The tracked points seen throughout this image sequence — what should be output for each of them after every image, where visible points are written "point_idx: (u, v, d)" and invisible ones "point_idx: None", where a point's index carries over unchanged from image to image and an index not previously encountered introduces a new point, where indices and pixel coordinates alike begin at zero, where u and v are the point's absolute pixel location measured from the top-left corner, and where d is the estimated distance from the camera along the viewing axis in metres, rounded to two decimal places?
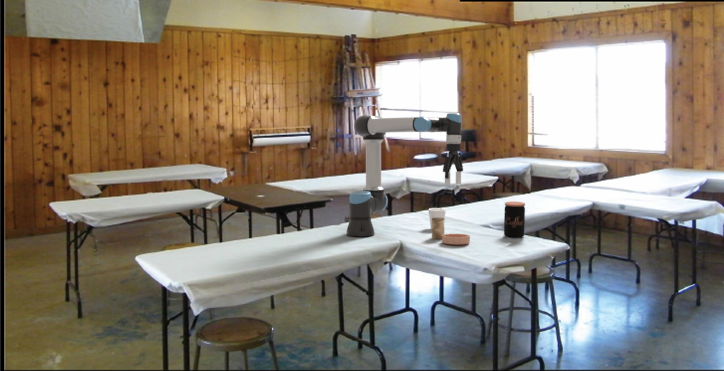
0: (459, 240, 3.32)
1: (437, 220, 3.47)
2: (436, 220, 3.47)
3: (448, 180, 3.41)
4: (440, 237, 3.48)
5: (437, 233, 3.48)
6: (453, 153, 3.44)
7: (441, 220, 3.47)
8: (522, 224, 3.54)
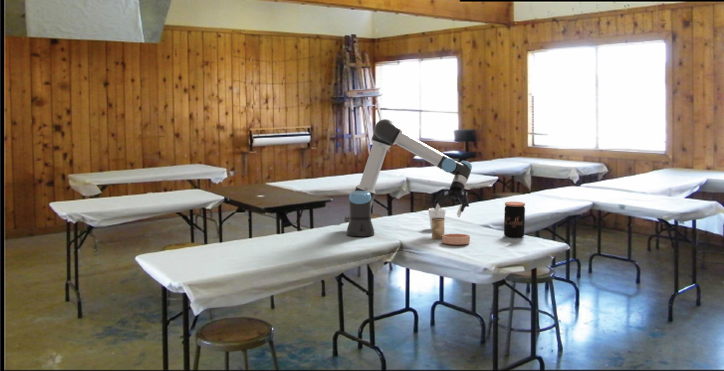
0: (459, 240, 3.32)
1: (437, 220, 3.47)
2: (436, 220, 3.47)
3: (460, 213, 3.54)
4: (440, 237, 3.48)
5: (437, 233, 3.48)
6: None
7: (441, 220, 3.47)
8: (522, 224, 3.54)
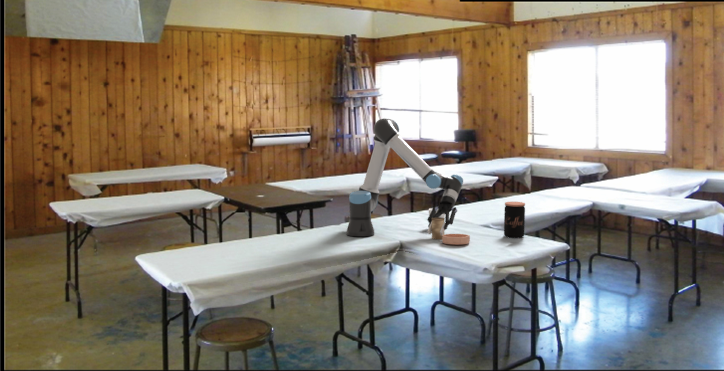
0: (459, 240, 3.32)
1: (437, 220, 3.47)
2: (436, 220, 3.47)
3: (443, 231, 3.47)
4: (440, 237, 3.48)
5: (437, 233, 3.48)
6: None
7: (441, 220, 3.47)
8: (522, 224, 3.54)
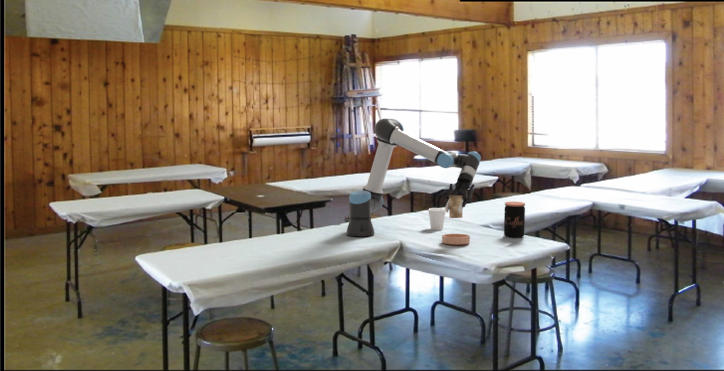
0: (459, 240, 3.32)
1: (455, 197, 3.34)
2: (454, 197, 3.35)
3: (461, 208, 3.35)
4: (458, 215, 3.35)
5: (455, 211, 3.35)
6: None
7: (459, 197, 3.35)
8: (522, 224, 3.54)
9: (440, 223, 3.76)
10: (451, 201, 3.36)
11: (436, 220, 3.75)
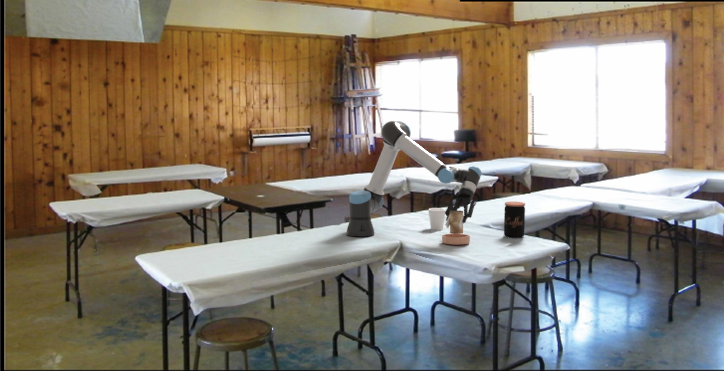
0: (459, 240, 3.32)
1: (455, 213, 3.35)
2: (454, 213, 3.35)
3: (462, 224, 3.35)
4: (459, 231, 3.35)
5: (455, 227, 3.35)
6: None
7: (460, 213, 3.35)
8: (522, 224, 3.54)
9: (440, 223, 3.76)
10: (452, 217, 3.36)
11: (436, 220, 3.75)
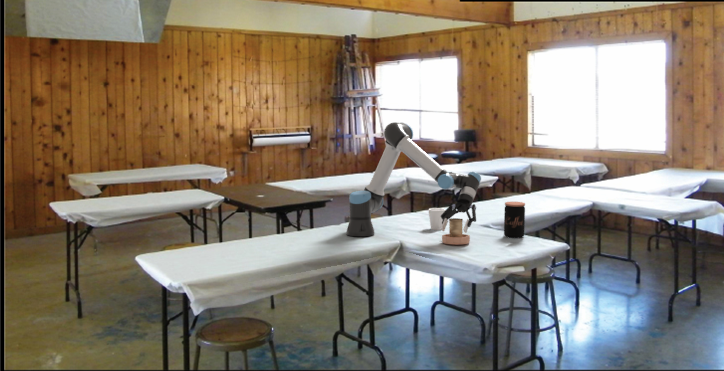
0: (459, 240, 3.32)
1: (455, 221, 3.35)
2: (454, 221, 3.35)
3: (467, 228, 3.34)
4: None
5: (455, 235, 3.35)
6: None
7: (459, 221, 3.35)
8: (522, 224, 3.54)
9: (440, 223, 3.76)
10: (451, 225, 3.36)
11: (436, 220, 3.75)
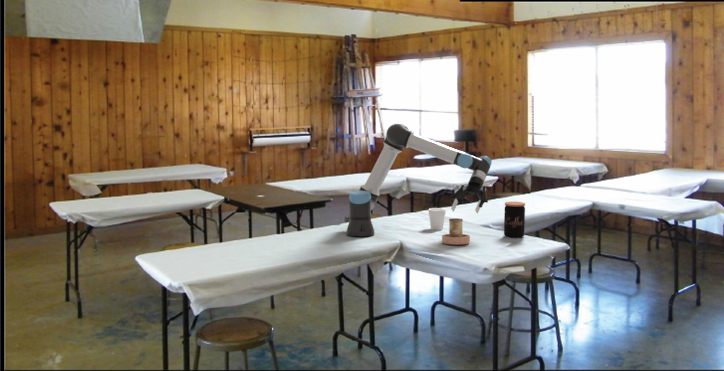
0: (459, 240, 3.32)
1: (455, 221, 3.35)
2: (454, 221, 3.35)
3: (479, 208, 3.46)
4: None
5: (455, 235, 3.35)
6: None
7: (459, 221, 3.35)
8: (522, 224, 3.54)
9: (440, 223, 3.76)
10: (451, 225, 3.36)
11: (436, 220, 3.75)
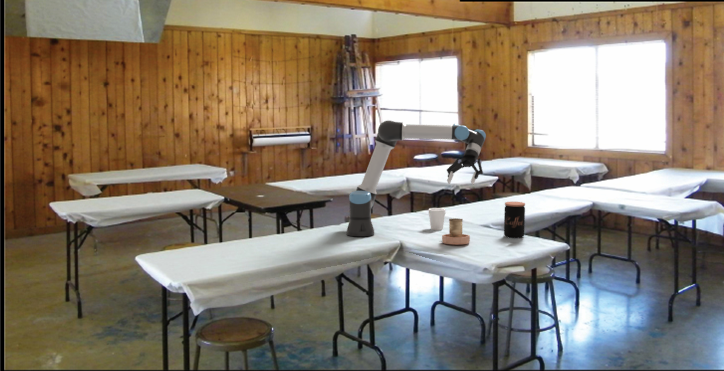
0: (459, 240, 3.32)
1: (455, 221, 3.35)
2: (454, 221, 3.35)
3: (474, 180, 3.51)
4: None
5: (455, 235, 3.35)
6: None
7: (459, 221, 3.35)
8: (522, 224, 3.54)
9: (440, 223, 3.76)
10: (451, 225, 3.36)
11: (436, 220, 3.75)
